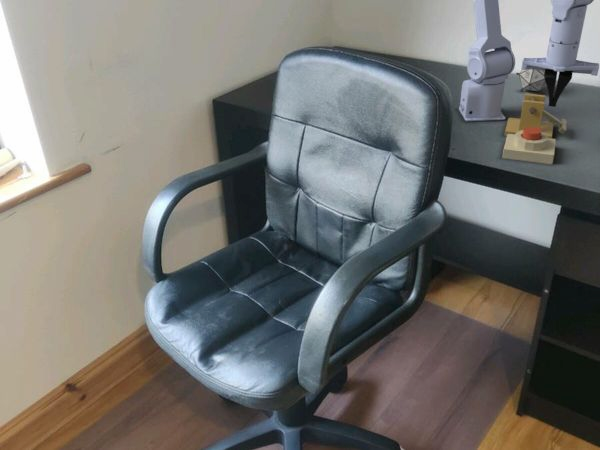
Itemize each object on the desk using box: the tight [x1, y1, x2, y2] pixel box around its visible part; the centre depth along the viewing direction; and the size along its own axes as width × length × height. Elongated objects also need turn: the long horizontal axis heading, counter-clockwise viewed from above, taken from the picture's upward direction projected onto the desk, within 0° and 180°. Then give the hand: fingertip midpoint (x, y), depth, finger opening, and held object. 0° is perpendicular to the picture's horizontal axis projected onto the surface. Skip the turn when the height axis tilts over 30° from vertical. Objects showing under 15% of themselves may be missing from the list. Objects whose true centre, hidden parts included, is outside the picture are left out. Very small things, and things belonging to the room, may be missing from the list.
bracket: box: [503, 93, 555, 139], centre depth 139 cm, size 10×8×8 cm
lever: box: [530, 97, 568, 135], centre depth 138 cm, size 10×6×2 cm, turn 69°
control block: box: [501, 130, 557, 165], centre depth 131 cm, size 10×8×4 cm
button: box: [522, 127, 542, 141], centre depth 130 cm, size 4×4×2 cm
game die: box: [515, 69, 547, 95], centre depth 160 cm, size 9×8×10 cm
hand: (552, 104), depth 131 cm, fingers closed
